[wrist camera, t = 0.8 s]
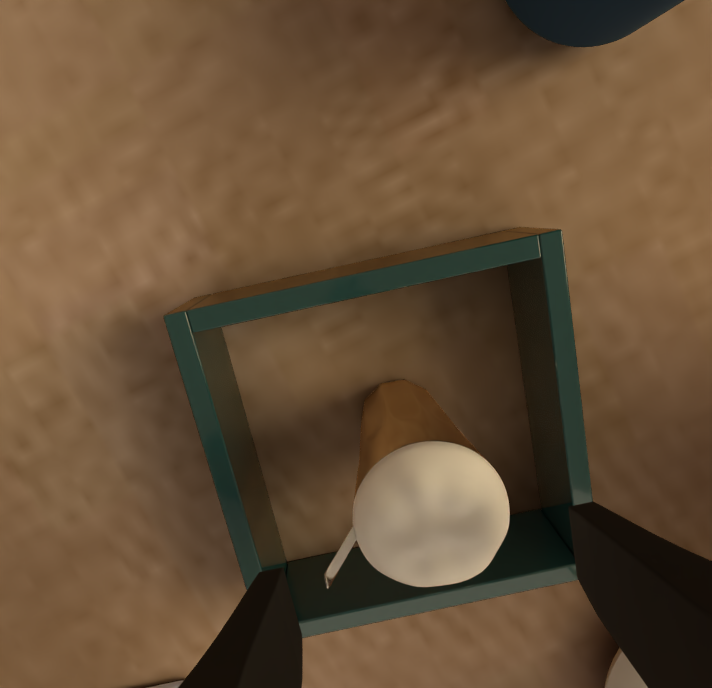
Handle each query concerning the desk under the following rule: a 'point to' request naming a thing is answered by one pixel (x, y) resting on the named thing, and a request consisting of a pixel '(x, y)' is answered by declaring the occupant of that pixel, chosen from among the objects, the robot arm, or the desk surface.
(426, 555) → the milkshake
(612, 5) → the soda can
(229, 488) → the holder
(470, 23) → the desk surface
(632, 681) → the flower in vase
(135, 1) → the desk surface
